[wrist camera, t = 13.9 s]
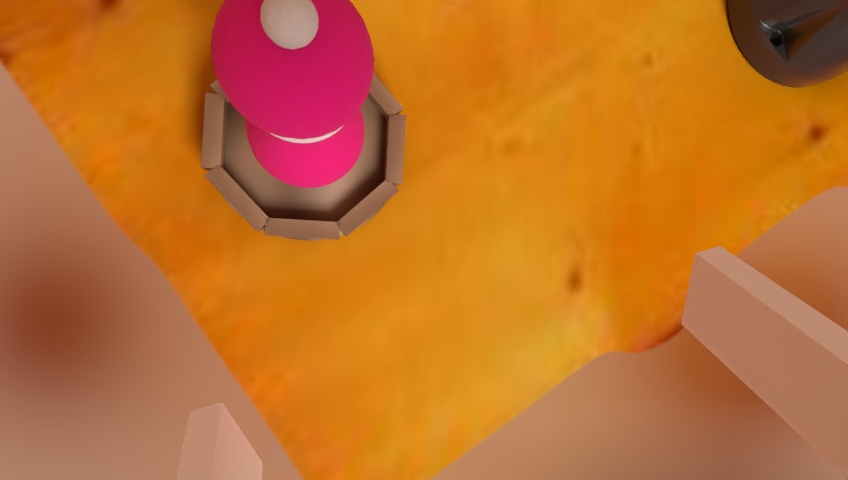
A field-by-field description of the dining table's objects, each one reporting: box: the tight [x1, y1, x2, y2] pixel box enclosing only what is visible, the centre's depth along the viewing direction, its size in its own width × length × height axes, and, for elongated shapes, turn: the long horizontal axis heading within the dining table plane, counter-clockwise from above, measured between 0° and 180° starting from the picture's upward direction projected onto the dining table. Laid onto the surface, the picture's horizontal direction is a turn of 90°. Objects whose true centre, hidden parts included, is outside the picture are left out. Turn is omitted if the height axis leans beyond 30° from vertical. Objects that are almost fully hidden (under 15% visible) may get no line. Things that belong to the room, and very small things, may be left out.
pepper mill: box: [211, 0, 374, 188], centre depth 23 cm, size 7×7×20 cm
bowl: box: [201, 73, 406, 240], centre depth 34 cm, size 14×14×3 cm
